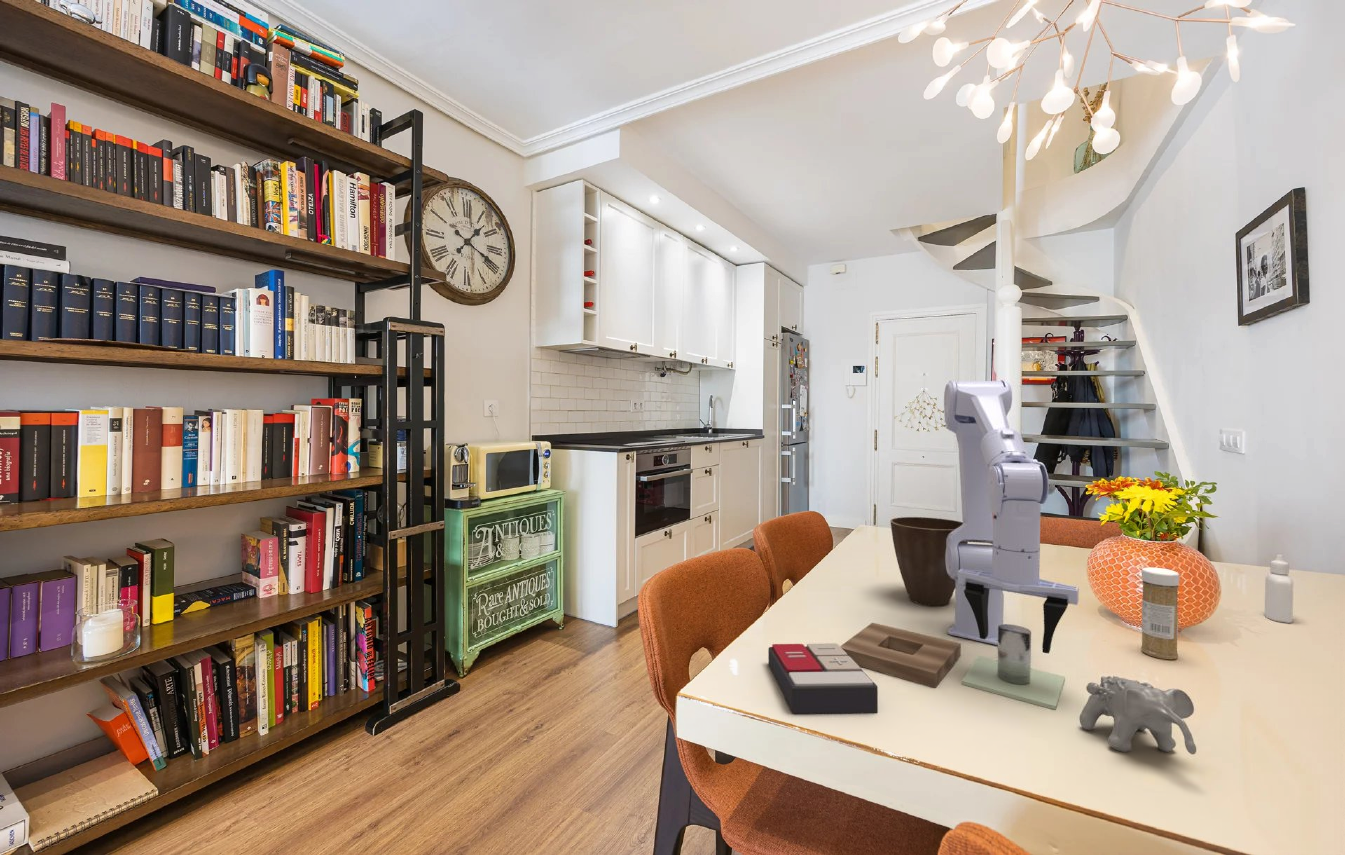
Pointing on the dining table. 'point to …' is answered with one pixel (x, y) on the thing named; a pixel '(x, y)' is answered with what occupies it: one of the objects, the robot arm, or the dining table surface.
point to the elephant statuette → (1138, 712)
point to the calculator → (821, 680)
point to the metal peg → (1014, 654)
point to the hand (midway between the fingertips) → (1014, 643)
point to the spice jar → (1160, 612)
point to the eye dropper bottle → (1279, 592)
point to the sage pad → (1038, 692)
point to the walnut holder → (921, 667)
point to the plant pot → (924, 557)
